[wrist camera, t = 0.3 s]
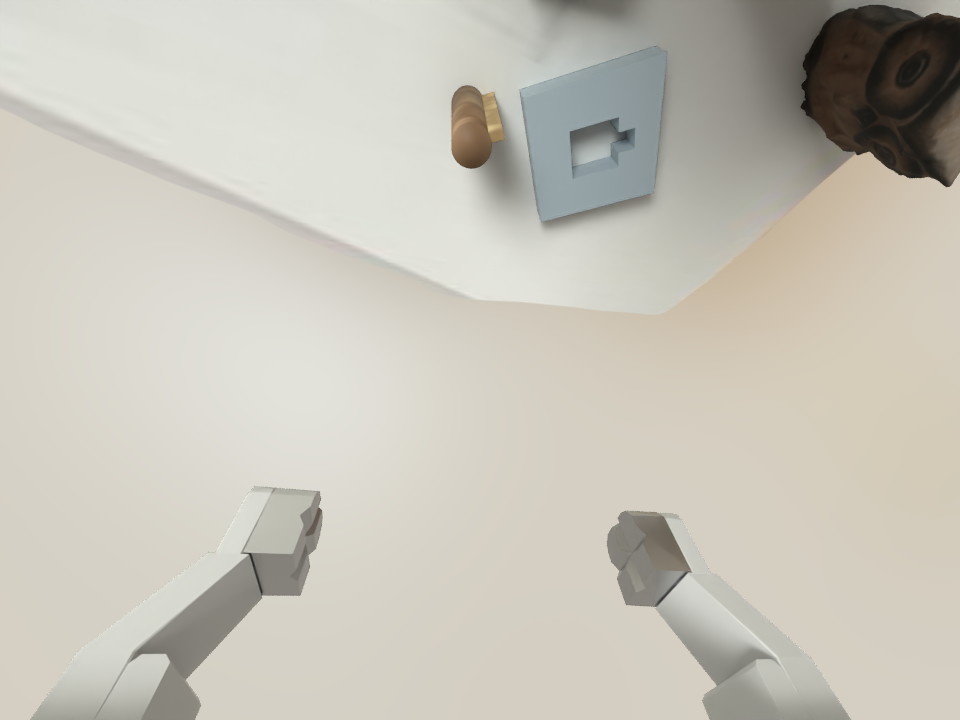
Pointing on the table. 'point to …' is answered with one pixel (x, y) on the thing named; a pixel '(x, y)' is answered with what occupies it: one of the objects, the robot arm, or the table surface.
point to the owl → (889, 88)
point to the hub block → (587, 101)
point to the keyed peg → (474, 126)
